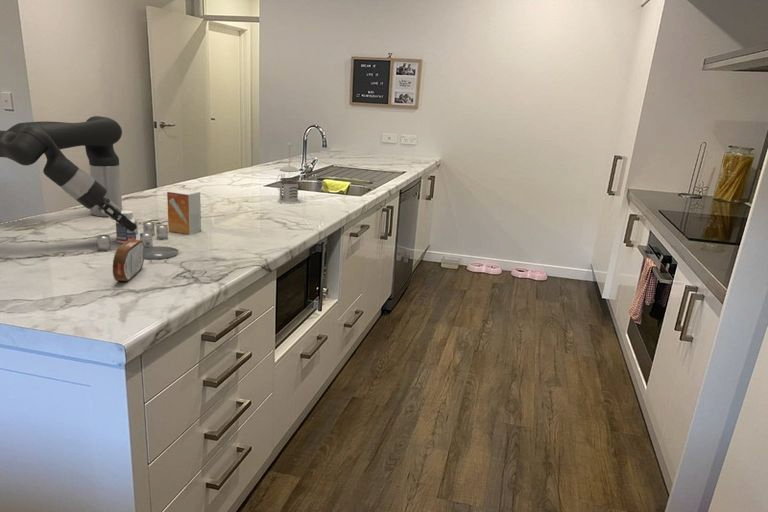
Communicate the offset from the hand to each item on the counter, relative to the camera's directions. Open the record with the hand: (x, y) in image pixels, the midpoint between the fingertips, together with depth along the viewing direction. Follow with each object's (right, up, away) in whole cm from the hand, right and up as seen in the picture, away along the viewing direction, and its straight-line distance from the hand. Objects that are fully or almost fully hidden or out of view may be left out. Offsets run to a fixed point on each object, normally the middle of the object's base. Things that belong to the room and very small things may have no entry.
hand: (132, 226), depth 164 cm
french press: (+33, +14, +73) cm, 81 cm away
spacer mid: (+1, -2, +8) cm, 9 cm away
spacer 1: (-4, -2, +9) cm, 10 cm away
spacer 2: (+6, -6, -4) cm, 9 cm away
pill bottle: (-2, -4, 0) cm, 5 cm away
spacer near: (-4, -7, -9) cm, 12 cm away
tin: (+12, -14, -28) cm, 33 cm away
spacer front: (+7, -3, +6) cm, 9 cm away
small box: (+10, -1, +16) cm, 19 cm away
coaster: (+11, -8, -10) cm, 17 cm away
